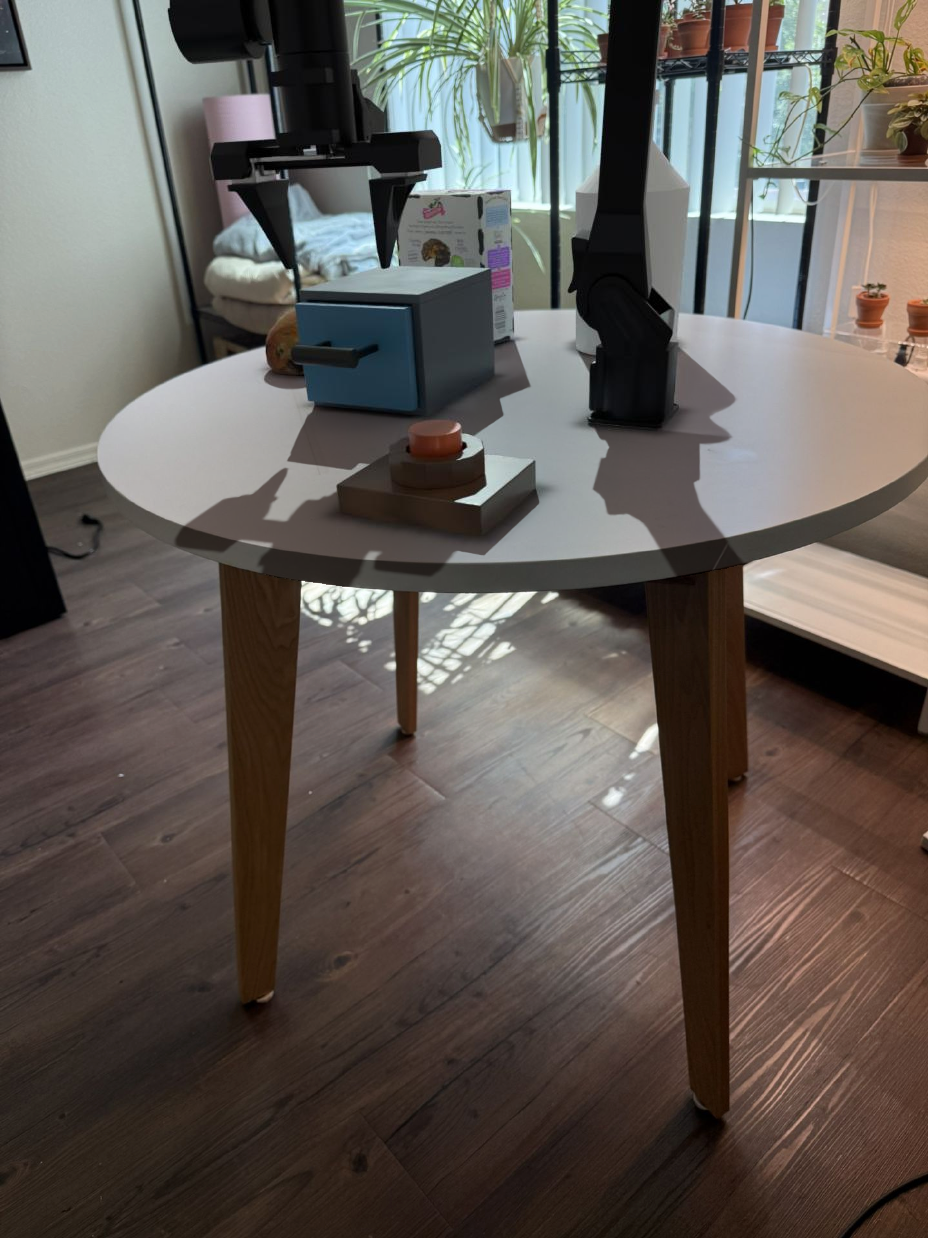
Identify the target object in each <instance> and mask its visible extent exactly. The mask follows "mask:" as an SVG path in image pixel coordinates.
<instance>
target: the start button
mask: <svg viewBox="0 0 928 1238" xmlns="http://www.w3.org/2000/svg"><path fill="white" fill-rule="evenodd" d="M407 430H408V431H407V432H408V437H409V445H410V454H411V455H413V456H419V457H428V458H433V457H446V456H450V455H453V454H457V453H460V452H461V451H462V434H463V432H462V425H461V423H459V422H457V421H454V420H449V419H430V420H423V421H419V422H416V423H413V424H411V425H410V426H409V427H408V429H407Z"/></svg>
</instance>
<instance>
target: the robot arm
mask: <svg viewBox="0 0 928 1238" xmlns="http://www.w3.org/2000/svg"><path fill="white" fill-rule="evenodd" d="M664 1H665V0H610V2H609V3H610V4H609V17H608V19H609V20H608V33H607V49H606V62H605V63H606V64H605V80H604V94H603V95H604V98H603V109H602V110H603V111H602V126H601V141H600V142H601V143H600V155H599V156H600V157H599V163H600V170H599V186H598V201H597V209H596V213H595V217H594V221H593V224H592V228H591V231H590V230H586V229H580V230H579V231H578V232H577V233H576V232H575V234H574V235H573V236H572V237H571V239H570V243H571V245H570V247H571V258H572V266H573V269H572V270H573V271H572V277H571V281H570V284H569V286H568V288H567V293H568V294H572V293H574V292H575V308H576V307H577V310H578V313H579V316H580V317H581V318H582V319H583V320H584V321H585V323H586V324H587V325H588V326H589V327H591V328H592V329H594V330H596V331H597V332H598V335H599V338H600V341H601V343H600V344H599V345H597V346H596V355H595V360H593V361H592V362H591V363H590V364H589V375H588V376H589V378H588V380H589V383H588V409H589V410H590V411H591V413H590V414H589V415H587V421H586V422H587V423H589V424H595V425H597V424H598V425H604V426H605V425H607V426H617V427H627V428H635V429H636V428H638V429H649V430H661V429H662V428H663V427H664V426H666V424H667V423H668V422H669V421H670V420H671V419H672V418H673V417H674V416H675V414H677V412H679V410H680V404H679V403H677V402H675V398H676V397H675V395H676V381H677V369H678V368H677V367H678V356H679V355H678V353H679V342H678V341H677V342H670V340H671V337H672V335H673V327H674V317H675V310H674V308H673V307H672V306H671V305H670V304H669V303H668V302H667V301H666V300H665V299H664V298H663V297H662V296H661V295H660V294H659V293H658V292H657V291H656V290H655V288H654V287H653V286H652V273H651V259H650V245H649V234H648V224H647V215H646V191H647V179H648V168H649V157H650V146H651V135H652V124H653V113H654V102H655V91H656V89H657V79H658V68H659V56H660V47H661V46H660V45H661V35H662V25H663V24H662V23H663V12H664ZM167 17H168V21H169V22H168V23H169V26H170V31H171V33H172V36H173V39H174V42H175V44H176V46H177V48H178V51H179V52H180V53H181V55H182V57H183V58H184V59H185V60H186V61H187V62H188V63H189V64H192V65H203V64H204V65H205V64H217V63H229V62H242V61H243V62H244V61H253V60H254V61H255V60H260V59H262V58H263V56H264V55H265V53H266V50H267V46H273V49H274V57H275V64H276V71H269V72H268V75H269V82H270V88H279V95H280V102H281V108H282V117H283V124H284V125H283V126H284V132H277V138H263V139H247V140H245V139H244V140H232V141H231V140H230V141H218V142H213V144H212V148H211V150H210V154H209V156H208V163H209V168H210V174H211V180H212V181H231V184H226V189H227V192H228V193H236V194H237V195H238V197H239V198H240V200H241V202H243V204H244V205H245V207H246V208H247V210H248V211H249V212H250V214H251V216H252V217H253V218H254V219H255V221H256V222H257V223H258V225H259V227H260V228H261V230H262V231H263V233H264V235H265V237H266V238H267V240H268V242H269V244H270V245H271V248H273V251H274V252H275V254H276V256H277V257H278V259H279V260H280V262H281V264H282V266H283V267H284V269H285V270H287V271H288V270H289V271H290V270H293V269H295V267H296V263H295V262H296V261H295V247H294V242H293V241H294V240H293V236H292V229H291V228H292V227H291V223H290V222H291V221H290V216H289V210H288V205H287V197H288V191H289V186H290V181H291V180H290V178H279V179H278V178H277V175H279V174H280V173H281V172H282V171H288V170H289V171H291V170H293V171H294V170H311V169H312V170H313V169H334V168H337V169H338V168H357V167H360V168H361V167H373V168H374V169H375V170H376V172H378V173H379V174H380V177H376V178H371V179H368V189H369V198H370V206H371V215H372V222H373V229H374V230H373V231H374V237H375V238H374V239H375V247H376V253H377V257H378V261H379V267H380V266H381V268H382V269H387V268H389V267H390V266H391V263H392V260H393V255H394V250H395V246H396V244H397V241H396V238H397V234H398V229H399V225H400V221H401V217H402V214H403V211H404V208H405V205H406V202H407V199H408V197H409V195H410V193H411V192H413V190H414V188H415V186H416V185H417V183H421V182H425V181H427V179H428V173H424V172H425V171H426V172H427V171H431V170H436V169H442V168H443V155H442V144H441V141H440V138H439V136H438V135H437V134H436V133H435V131H434V130H433V129H421V130H420V129H419V130H405V131H404V130H402V131H401V130H400V131H388V132H387V131H386V117H387V116H386V113H385V112H384V111H383V110H382V109H381V108H380V107H379V106H378V105H377V104H376V103H374V101H372V100H371V99H370V98H368V97H365V96H364V95H363V94H364V93H363V91H362V88H361V79H360V76H359V73H358V68H357V69H356V68H351V60H350V53H349V51H350V50H349V40H348V29H347V20H346V19H347V18H346V10H345V0H169V7H167ZM313 146H315V154H305V150H311V149H312V147H313ZM576 290H577V291H576ZM590 411H589V412H590Z"/></svg>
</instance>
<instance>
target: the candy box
mask: <svg viewBox="0 0 928 1238" xmlns="http://www.w3.org/2000/svg"><path fill="white" fill-rule="evenodd" d="M512 221H513V220H512V190H511V189H486V188H485V189H479V188H477V189H476V188H475V189H474V188H473V189H471V188H468V189H467V188H466V189H465V188H464V189H463V188H462V189H461V188H460V189H459V188H458V189H457V188H456V189H455V188H454V189H453V188H451V189H450V188H448V189H447V188H446V189H445V188H444V189H422V190H415V191H412V192H411V193H410V195H409V197H408V199H407V202H406V205H405V208H404V211H403V214H402V217H401V221H400V225H399V229H398V234H397V238H396V249H397V250H396V251H397V261H398V266H417V267H463V268H491V271H492V303H493V335H494V345H495V344H500V343H502V342H506V341H509V340H513V339H515V310H514V308H515V307H514V272H513V271H514V270H513V269H514V268H513V265H514V264H513V263H514V262H513V227H512V226H513V222H512Z"/></svg>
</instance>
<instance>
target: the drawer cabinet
mask: <svg viewBox="0 0 928 1238" xmlns="http://www.w3.org/2000/svg"><path fill="white" fill-rule="evenodd" d="M298 295H299V299H300V302H316V303H317V302H318V301H321V300H331V301H355V302H379V303H403V304H412V312H413V326H414V339H415V352H416V366H417V379H418V392H419V400H418V408H417V409H415V410H413V411H404V410H394V409H384V408H374V407H364V406H354V405H344V404H334V403H324V402H314V401H313V404H314V405H315V406H321V407H330V408H331V407H332V408H341V409H342V408H344V409H345V408H346V409H355V410H363V411H364V410H365V411H374V412H382V413H383V412H384V413H392V414H393V413H395V414H403V415H404V414H405V415H412V416H423V417H429V416H431V415H432V414H434V413H435V412H437V411H439V410H441V409H442V408H444V407H447V406H448V405H450V404H451V403H453V402H454V401H457V400H458V399H460V398H461V397H463V396H464V395H466V394H468V393H469V392H471V391H473V390H475V389H476V388H478V387H479V386H481V385H483V384H485V383H487V382H488V381H490V380H491V379H493V378H495V377H496V370H495V369H496V368H495V367H496V366H495V344H494V335H493V303H492V271H491V268H463V267H417V266H399V265H390V267H389V268H387V269H382V268H381V266H380V265H379V266H376V267H373V268H370V269H366V270H363V271H359V272H356V273H351V274H349V275H345V276H343V277H340V278H335V279H332V280H329V281H326V282H322V283H319V284H315V285H312V286H309V287H305V288H302V289H299V290H298Z"/></svg>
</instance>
